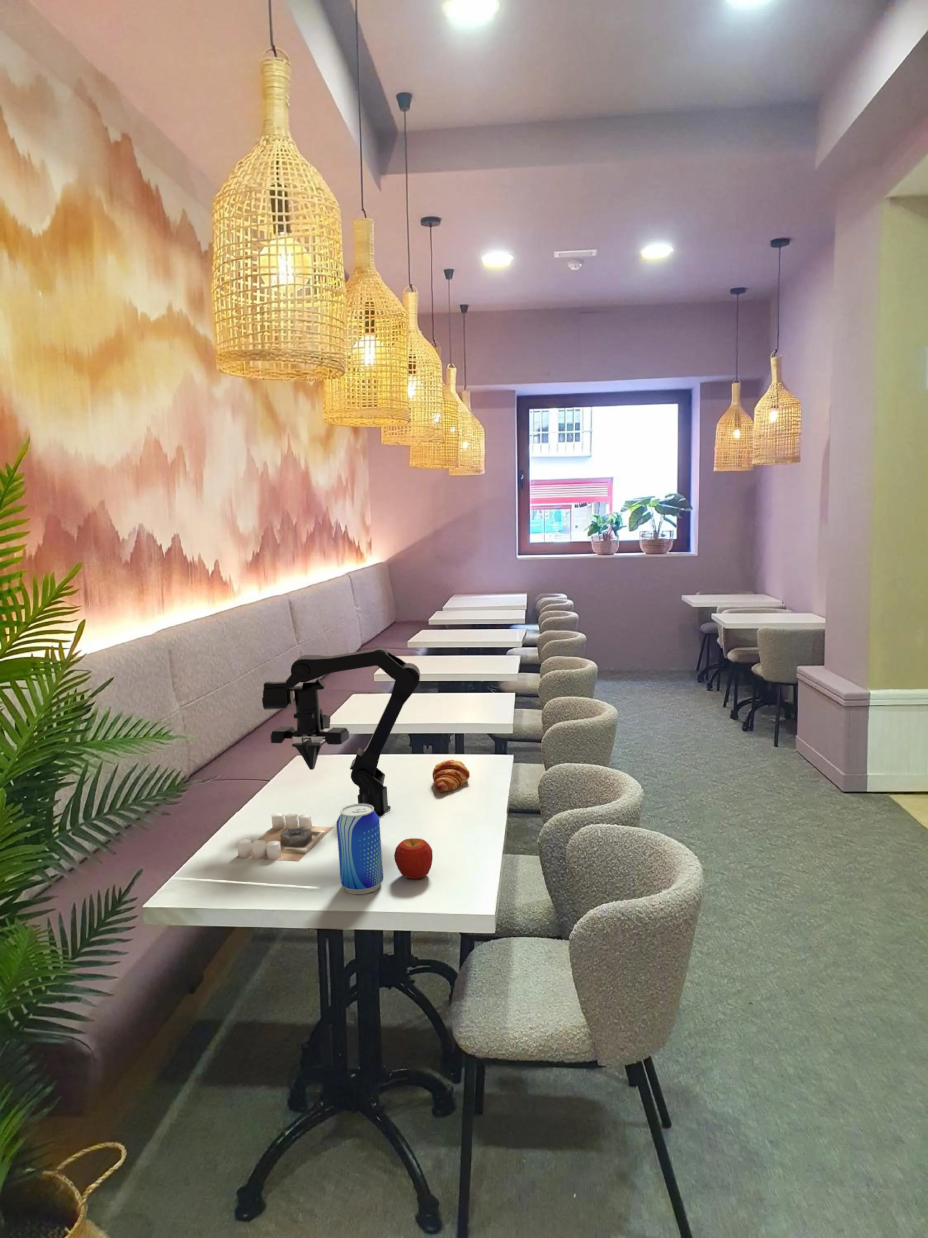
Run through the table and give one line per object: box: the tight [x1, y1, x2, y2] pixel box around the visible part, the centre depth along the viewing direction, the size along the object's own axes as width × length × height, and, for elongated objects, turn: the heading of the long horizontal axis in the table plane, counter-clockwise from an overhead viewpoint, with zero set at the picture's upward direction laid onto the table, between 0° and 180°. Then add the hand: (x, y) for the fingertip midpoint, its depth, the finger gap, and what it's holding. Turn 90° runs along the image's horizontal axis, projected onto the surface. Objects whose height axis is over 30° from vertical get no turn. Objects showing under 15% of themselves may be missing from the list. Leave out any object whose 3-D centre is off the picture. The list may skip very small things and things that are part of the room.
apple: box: [393, 837, 434, 880], centre depth 167 cm, size 8×8×8 cm
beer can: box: [336, 803, 384, 895], centre depth 163 cm, size 8×8×16 cm
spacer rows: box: [236, 812, 313, 861], centre depth 188 cm, size 10×19×3 cm, turn 166°
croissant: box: [432, 759, 471, 793], centre depth 223 cm, size 21×10×8 cm, turn 166°
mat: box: [235, 824, 334, 862], centre depth 187 cm, size 15×19×1 cm
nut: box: [280, 827, 312, 848], centre depth 186 cm, size 6×7×2 cm
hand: (312, 769), depth 202 cm, fingers closed
